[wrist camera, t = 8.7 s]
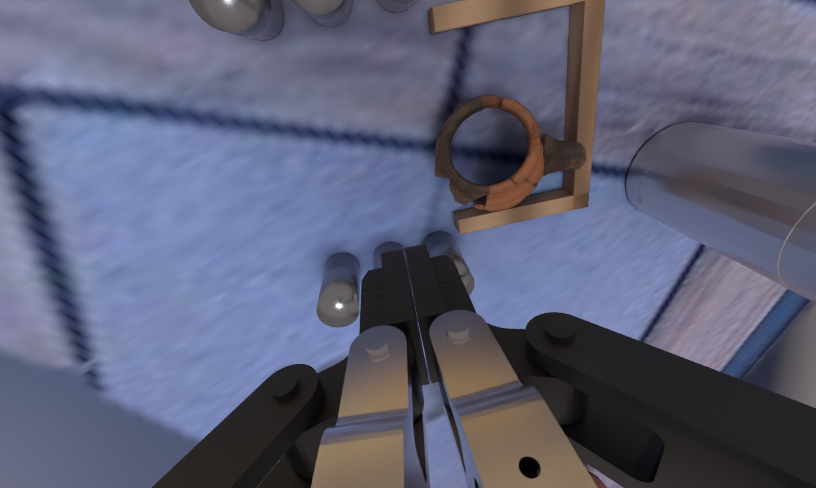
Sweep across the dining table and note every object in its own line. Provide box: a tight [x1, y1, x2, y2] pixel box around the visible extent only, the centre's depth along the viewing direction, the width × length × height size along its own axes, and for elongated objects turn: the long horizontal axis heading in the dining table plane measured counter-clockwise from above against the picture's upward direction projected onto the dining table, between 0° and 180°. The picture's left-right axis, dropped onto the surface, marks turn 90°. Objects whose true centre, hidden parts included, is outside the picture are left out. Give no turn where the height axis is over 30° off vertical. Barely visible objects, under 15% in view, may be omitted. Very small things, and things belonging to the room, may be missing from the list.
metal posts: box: [189, 0, 474, 327], centre depth 26 cm, size 14×26×7 cm, turn 10°
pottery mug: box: [435, 95, 587, 211], centre depth 28 cm, size 12×9×8 cm
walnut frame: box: [428, 0, 605, 234], centre depth 28 cm, size 12×18×2 cm
